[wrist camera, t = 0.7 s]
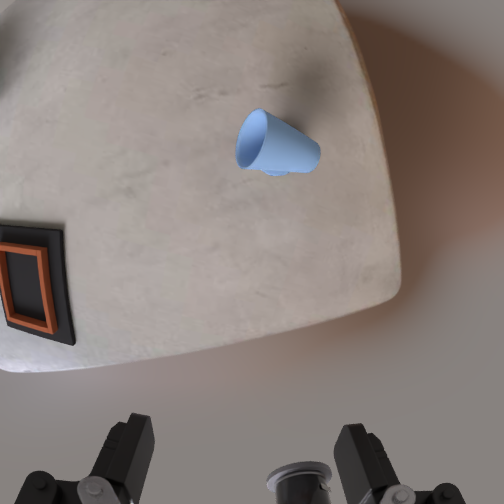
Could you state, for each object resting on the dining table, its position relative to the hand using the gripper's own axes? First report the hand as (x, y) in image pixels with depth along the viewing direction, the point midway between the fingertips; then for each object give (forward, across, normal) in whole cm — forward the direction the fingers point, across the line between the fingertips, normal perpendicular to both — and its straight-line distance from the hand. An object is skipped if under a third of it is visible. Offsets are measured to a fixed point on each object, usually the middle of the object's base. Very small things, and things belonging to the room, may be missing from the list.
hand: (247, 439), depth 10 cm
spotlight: (+23, +2, +13) cm, 26 cm away
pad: (+23, -30, -5) cm, 38 cm away
